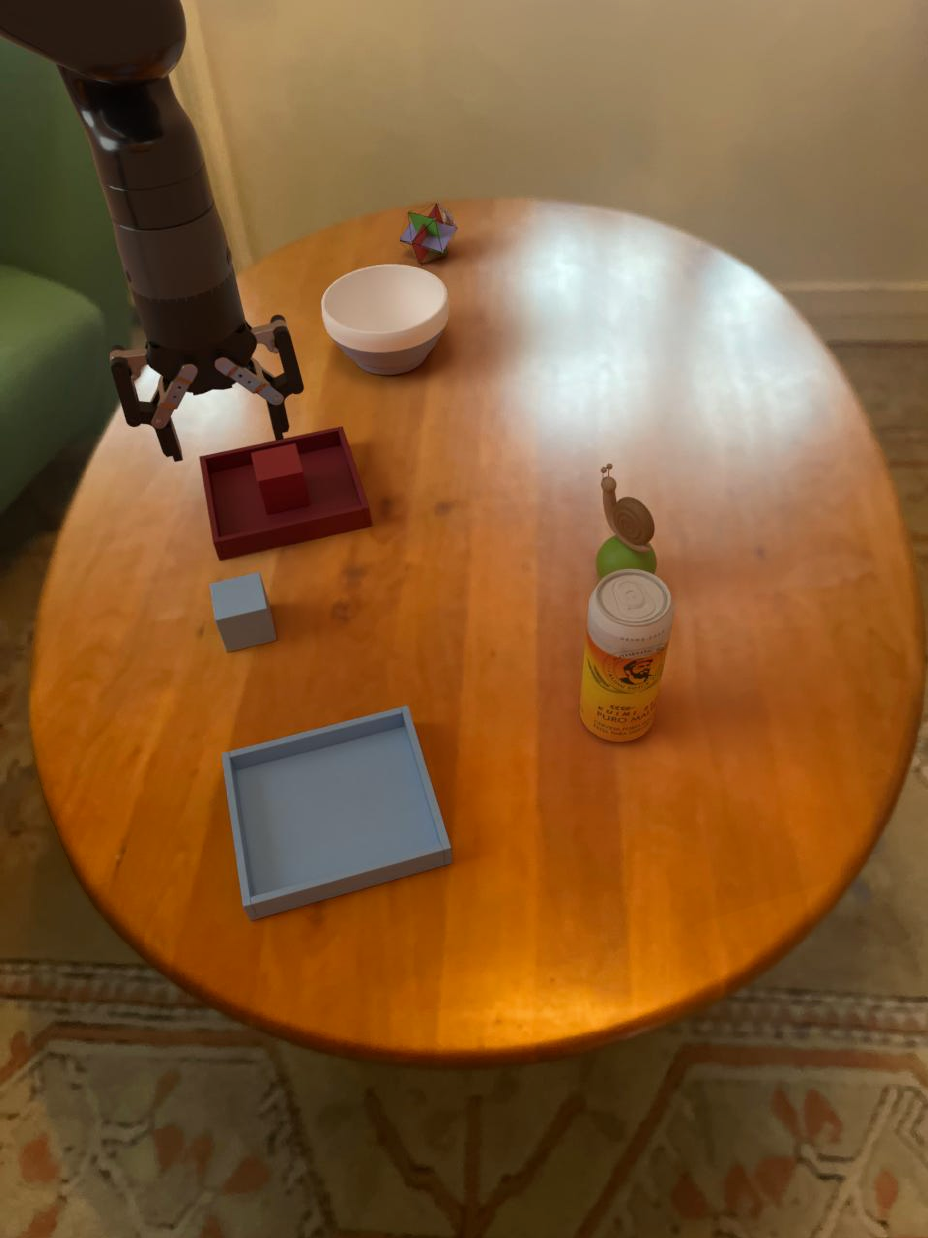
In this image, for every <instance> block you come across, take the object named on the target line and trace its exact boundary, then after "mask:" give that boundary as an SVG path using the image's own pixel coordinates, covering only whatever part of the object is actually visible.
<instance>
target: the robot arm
mask: <svg viewBox="0 0 928 1238" xmlns="http://www.w3.org/2000/svg"><path fill="white" fill-rule="evenodd" d="M0 38H2V39H3V40H6V41H8V42H9V43H11V44H14V45H16V46H18V47H21V48H23V49H24V50H27V51H28V52H31V53H33V54H35V55H37V56H39V57H41V58H43V59H45V60H48V61H50V62H52V63H53V64H55V66H56V69H57V71H58V73H59V76H60V78H61V80H62V83H63V85H64V88H65V90H66V92H67V94H68V97H69V99H70V101H71V104H72V107H73V108H74V110H75V112H76V114H77V117H78V118H79V121H80V123H81V125H82V128H83V130H84V133H85V136H86V138H87V141H88V144H89V147H90V150H91V155H92V159H93V163H94V168H95V171H96V174H97V178H98V181H99V184H100V186H101V190H102V193H103V196H104V199H105V203H106V206H107V209H108V212H109V215H110V218H111V222H112V225H113V226H112V227H113V234H114V239H115V244H116V248H117V251H118V255H119V259H120V261H121V270H122V273H123V275H124V278H125V280H126V282H127V283H128V287H129V289H130V293H131V296H132V299H133V302H134V304H135V309H136V311H137V314H138V317H139V320H140V323H141V327H142V329H143V332H144V335H145V339H146V341H145V346H144V347H141V348H133V349H127V350H126V348H125V347H124V346H123V345H120V344H114V345H112V346H110V348H109V351H108V353H109V363H110V371H111V375H112V378H113V382H114V385H115V388H116V392H117V395H118V398H119V401H120V405H121V410H122V413H123V416H124V418H125V423H126V424H127V426H129V427H131V428H138V427H140V426H141V425H148V426H150V427H151V428H153V430H154V432H155V434H156V437H157V440H158V444H159V446H160V449H161V452H162V454H163V455H164V456H165V457H166V458H171V457H172V459H173V461H174V463H177V462H178V463H179V462H182V461H184V457H183V451H182V446H181V443H180V439H179V436H178V434H177V431H176V428H175V424H174V421H173V418H172V415H173V414H174V411H175V410H178V409H179V407H180V405H181V403H182V401H183V399H184V397H185V395H186V394H187V393H189V394H192V395H193V396H199V395H204V394H206V393H209V392H210V391H224V390H230V389H233V386H234V385H235V384H239V385H240V386H241V387H243V388H245V390H247V391H248V392H250V393H251V394H252V395H255V394H256V395H258V396H259V397H260V398H262V399H264V400H265V403H266V406H267V412H268V416H269V420H270V424H271V428H272V433H273V436H274V439H275V440H276V441H277V440H282V439H284V438H285V437H284V434H285V433H289V430H290V423H289V418H288V414H287V408H286V403H285V402H286V400H287V398H288V397H289V396H291V395H292V394H293V395H300V394H301V393H303V392H304V390H305V385H304V381H303V378H302V374H301V370H300V366H299V363H298V359H297V354H296V352H295V351H296V350H295V347H294V343H293V339H292V336H291V333H290V331H289V330H290V329H289V327H288V323H287V321H286V318H285V316H284V315H282V314H274V315H273V316H272V317H270V320H269V323H265V324H263V325H258V326H251V325H250V324H249V322H248V321H247V319H246V316H245V312H244V308H243V304H242V303H243V302H242V299H241V295H240V289H239V286H238V281H237V277H236V273H235V268H234V265H233V254H232V252H231V251H232V250H231V248H230V247H229V242H228V239H227V234H226V231H225V226H224V224H223V221H222V219H221V215H220V213H219V210H218V208H217V205H216V201H215V198H214V194H213V190H212V185H211V182H210V176H209V173H208V168H207V165H206V159H205V155H204V152H203V148H202V147H203V146H202V143H201V140H200V138H199V134H198V133H197V129H196V128H195V126H194V123H193V121H192V119H191V117H190V116H189V115H188V113H187V112H186V110H185V109H184V107H183V106H182V105H181V103H180V101H179V100H178V98H177V95H176V93H175V91H174V88H173V85H172V82H171V78H170V74H171V73H172V72H173V70H174V69H175V68H176V66H178V64H179V62H180V60H181V59H182V57H183V54H184V52H185V51H184V50H185V46H186V43H187V21H186V16H185V11H184V7H183V4H182V1H181V0H0ZM259 344H261V345H263V346H265V347H266V349H267V351H268V352H270V353H272V354H278V355H279V359H280V362H281V367H282V369H283V372H282V373H280V374H279V375H277V376H275V375H274V374H272V373H271V372H270V371H268V370H267V369H266V368H264V367H263V366H262V365H261V363H260V362H259V361H258V360H257V359H256V358H255V357H253V355H254V353H255V352H256V350H257V347H258V345H259ZM145 366H148V367H149V368H150V369H151V370H153V371H154V372H155V373H157V374H159V375H160V376H159V378H158V382H157V387H156V389H155V391H154V393H153V395H152V397H151V399H150V400H149V401H144V400H142V401H141V400H140V399H139V395H138V391H137V387H136V382H135V381H137V380H138V379H139V378H140V377H141V376H142V369H143V368H144V367H145ZM275 440H274V441H275Z"/></svg>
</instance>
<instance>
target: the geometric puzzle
mask: <svg viewBox="0 0 928 1238" xmlns="http://www.w3.org/2000/svg"><path fill="white" fill-rule="evenodd" d="M425 207H426V205H425V206H422V207H420V209H421V208H425ZM431 207H433V208H432V209H431V211H430V213H428V215H423V214H421V213H423V212H424V211H425V210H428V209H429V208H431ZM440 210H441V211H442V213H441V212H440ZM412 211H413V209H411V210H407V213H406V217H405V221H406V219H408V220H410V221H409V222H408V225H407V227H406V229H405V230H404V232H403V233H402V234H401V235H400V237H399V239H398V241H399V242H400V243H404V244H407V245H410V246H412V248H413V251H414V254H415V256H416V258H414V260H415V261H416V262H418V264H419V266H421V265H423V264H426V263H430V262H434V261H437V260H440V259H443V258H444V257H449V253H450V250H451V249H449V251H447V250H448V244H450V241H451V240H452V238H455V237H456V233H457V232H458V229H459V227H458V226H457V224H456V221H455V218H454V216H453V215H452V212H451V211H449V210H448V209H447V208H445V207H444V206H442V205H440V203H438V202H434V203H431V204H430V205H429V207H427V208H425V209H424V210H422V211H421V212H419V213H416V212H412ZM441 214H442V215H441ZM405 224H406V222H403V226H402V229H401V231H403V229H404V226H405ZM453 236H454V237H453ZM403 247H404V248H405V249H407V248H406V246H405V245H403ZM429 252H431V253H434V254H436V255H434V256H433V257H430V258H429V259H427V260H426V261H424V260H425V258H426V257H427V256H428V253H429ZM408 253H409V254H410V255H412V253H411V252H410V251H408ZM439 255H442V256H444V257H440V258H436V257H438V256H439ZM434 258H436V259H434ZM432 259H433V260H432Z"/></svg>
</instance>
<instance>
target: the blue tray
mask: <svg viewBox="0 0 928 1238" xmlns="http://www.w3.org/2000/svg"><path fill="white" fill-rule="evenodd" d="M221 762H222V767H223V768H222V769H223V775H224V783H225V790H226V798H227V803H228V804H227V805H228V811H229V819H230V825H231V831H232V832H231V833H232V839H233V846H234V847H233V848H234V854H235V861H236V868H237V874H238V875H237V876H238V881H239V888H240V889H239V890H240V895H241V903H242V907H243V909H244V911H245V913H246V916H247V917H248V919H249V920H250V921H255V920H258V919H261V918H265V917H268V916H272V915H276V914H279V913H282V912H286V911H290V910H293V909H297V908H300V907H303V906H307V905H310V904H314V903H317V902H321V901H324V900H328V899H331V898H335V897H338V896H342V895H346V894H349V893H352V892H357V891H359V890H363V889H366V888H370V887H374V886H377V885H381V884H384V883H388V882H391V881H395V880H398V879H402V878H405V877H409V876H412V875H416V874H419V873H422V872H427V871H430V870H433V869H437V868H440V867H443V866H447V865H450V864H453V863H454V861H453V852H452V845H451V842H450V839H449V835H448V831H447V830H446V829H447V828H446V826H445V823H444V819H443V816H442V813H441V809H440V806H439V802H438V799H437V797H436V796H437V795H436V793H435V790H434V786H433V783H432V780H431V775H430V773H429V770H428V767H427V763H426V760H425V757H424V753H423V750H422V747H421V744H420V740H419V737H418V733H417V730H416V727H415V724H414V721H413V718H412V714H411V711H410V707H409V705H408V704H407V705H403V706H401V707H395V708H392V709H387V710H384V711H381V712H376V713H373V714H369V715H368V714H367V715H365V716H361V717H357V718H353V719H349V720H345V721H341V722H338V723H334V724H329V725H327V726H322V727H318V728H314V729H310V730H307V731H303V732H298V733H296V734H291V735H288V736H283V737H280V738H275V739H272V740H268V741H264V742H261V743H257V744H253V745H249V746H245V747H241V748H237V749H233V750H229V751H225V752H222V753H221Z"/></svg>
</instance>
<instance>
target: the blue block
mask: <svg viewBox="0 0 928 1238" xmlns="http://www.w3.org/2000/svg"><path fill="white" fill-rule="evenodd" d="M261 575H262V574H261V572H260V571H258V572H254V573H250V574H249V573H248V574H245V575H241V576H235V577H232V578H228V579H224V580H220V581H215V582H211V583H209V590H210V597H211V603H212V610H213V617H214V622H215V625H216V627H217V630H218V632H219V635H220V637H221V640H222V643H223V646H224V648H225V652H226V653H230V652H235V651H239V650H243V649H246V648H250V647H251V648H252V647H256V646H259V645H263V644H267V643H271V642H275V641H277V634H276V629H275V625H274V619H273V615H272V609H271V605H270V601H269V598H268V595H267V591H266V588H265V585H264V582H263V578H262V576H261Z"/></svg>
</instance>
